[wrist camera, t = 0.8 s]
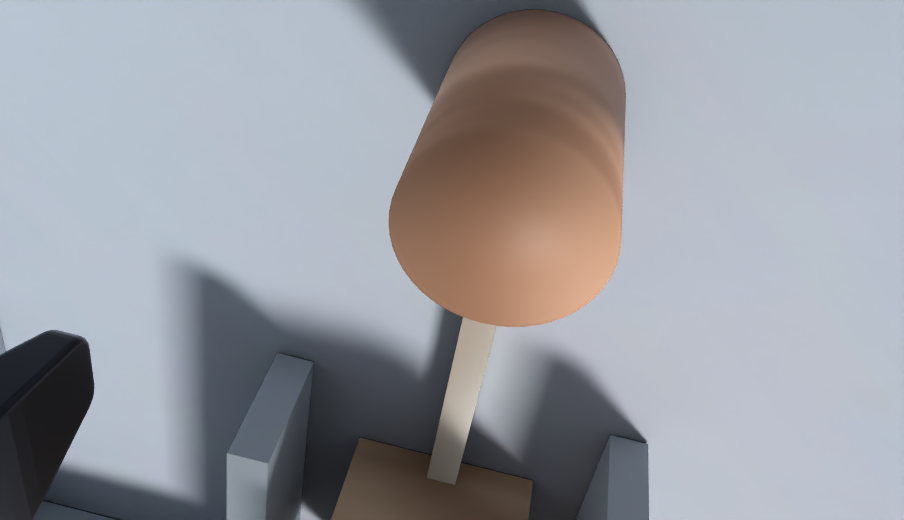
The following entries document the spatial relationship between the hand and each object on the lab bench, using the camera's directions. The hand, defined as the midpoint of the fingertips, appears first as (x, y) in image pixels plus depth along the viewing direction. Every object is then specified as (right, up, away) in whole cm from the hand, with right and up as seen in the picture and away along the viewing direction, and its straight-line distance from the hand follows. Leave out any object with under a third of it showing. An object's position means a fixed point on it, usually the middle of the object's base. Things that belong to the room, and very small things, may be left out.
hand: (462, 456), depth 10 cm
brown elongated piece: (0, 0, +12) cm, 12 cm away
